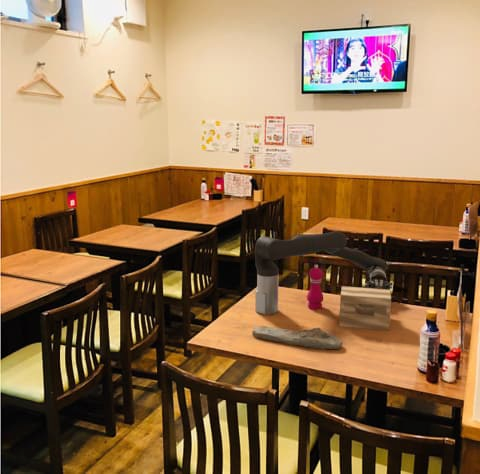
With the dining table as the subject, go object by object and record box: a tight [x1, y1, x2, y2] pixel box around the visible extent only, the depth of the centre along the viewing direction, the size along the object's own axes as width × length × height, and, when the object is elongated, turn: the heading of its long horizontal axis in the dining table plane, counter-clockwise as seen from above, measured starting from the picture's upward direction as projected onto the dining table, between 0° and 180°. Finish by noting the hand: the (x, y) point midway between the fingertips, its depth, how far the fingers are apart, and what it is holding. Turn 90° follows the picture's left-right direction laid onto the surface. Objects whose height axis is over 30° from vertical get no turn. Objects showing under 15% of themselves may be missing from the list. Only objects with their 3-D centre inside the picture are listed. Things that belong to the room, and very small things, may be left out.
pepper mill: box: [306, 264, 324, 310], centre depth 226 cm, size 7×7×20 cm
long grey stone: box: [252, 325, 343, 350], centre depth 194 cm, size 35×5×10 cm
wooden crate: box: [338, 285, 392, 331], centre depth 209 cm, size 11×20×14 cm, turn 76°
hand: (379, 290), depth 225 cm, fingers closed
